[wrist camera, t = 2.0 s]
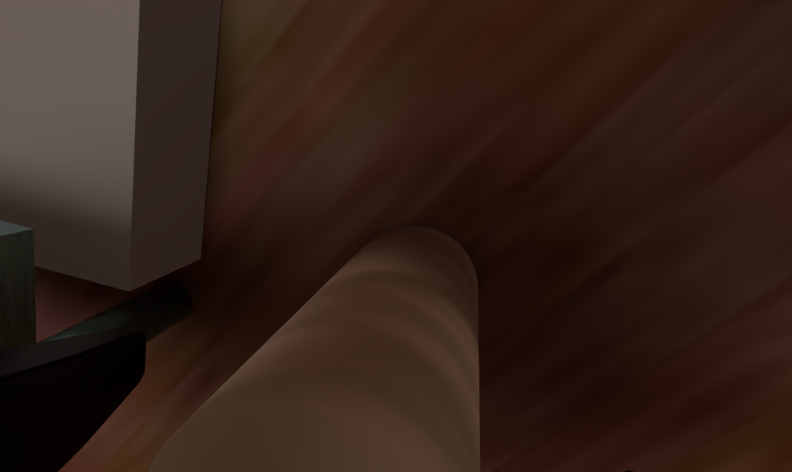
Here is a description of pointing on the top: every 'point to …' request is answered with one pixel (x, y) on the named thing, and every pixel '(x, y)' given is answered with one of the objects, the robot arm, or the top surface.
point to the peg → (356, 374)
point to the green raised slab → (147, 312)
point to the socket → (108, 132)
